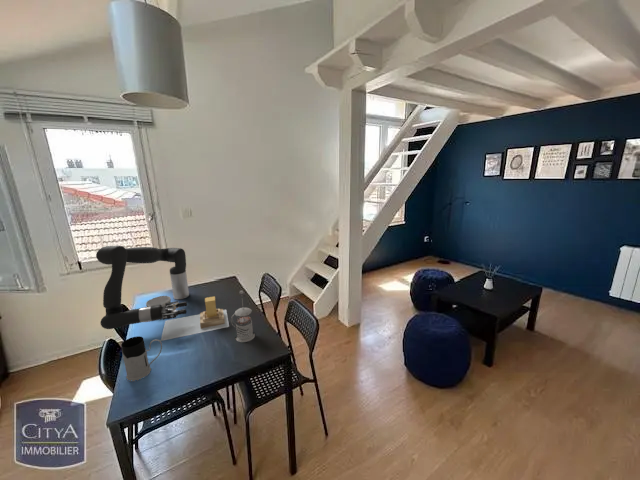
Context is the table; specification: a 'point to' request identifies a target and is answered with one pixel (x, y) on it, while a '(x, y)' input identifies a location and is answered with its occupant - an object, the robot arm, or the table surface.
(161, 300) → the teacup
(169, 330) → the white rectangular board
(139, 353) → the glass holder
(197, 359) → the table surface
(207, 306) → the ochre pillar
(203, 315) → the beech base slab
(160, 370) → the table surface
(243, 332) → the french press
